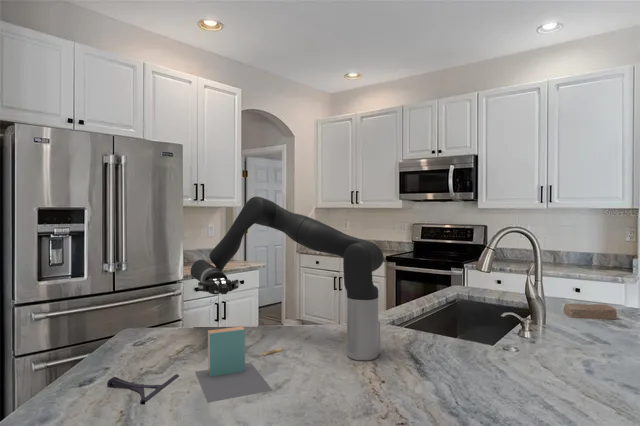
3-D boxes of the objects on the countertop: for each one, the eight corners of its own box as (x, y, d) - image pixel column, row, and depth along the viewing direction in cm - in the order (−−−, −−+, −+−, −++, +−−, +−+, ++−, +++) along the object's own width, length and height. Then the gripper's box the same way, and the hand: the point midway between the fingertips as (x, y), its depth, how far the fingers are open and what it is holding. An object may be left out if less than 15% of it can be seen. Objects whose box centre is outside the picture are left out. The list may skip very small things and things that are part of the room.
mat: (251, 364, 117) (251, 362, 117) (272, 392, 100) (272, 390, 100) (195, 373, 111) (195, 371, 111) (207, 405, 93) (207, 402, 93)
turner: (278, 350, 129) (278, 347, 129) (285, 353, 126) (285, 349, 126) (242, 361, 119) (242, 358, 119) (248, 364, 117) (248, 361, 117)
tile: (242, 367, 114) (242, 326, 114) (244, 371, 111) (244, 329, 111) (208, 372, 110) (207, 330, 110) (210, 376, 107) (209, 333, 107)
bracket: (127, 376, 111) (127, 366, 111) (179, 380, 108) (179, 370, 108) (87, 402, 96) (87, 390, 96) (146, 407, 94) (146, 395, 94)
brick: (570, 318, 166) (570, 306, 165) (562, 313, 174) (562, 301, 174) (617, 321, 162) (618, 309, 162) (607, 315, 170) (607, 304, 170)
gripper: (192, 270, 135) (201, 279, 120) (233, 267, 141) (247, 276, 125) (192, 293, 136) (201, 305, 120) (233, 290, 141) (246, 301, 125)
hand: (224, 290), depth 122 cm, fingers closed
